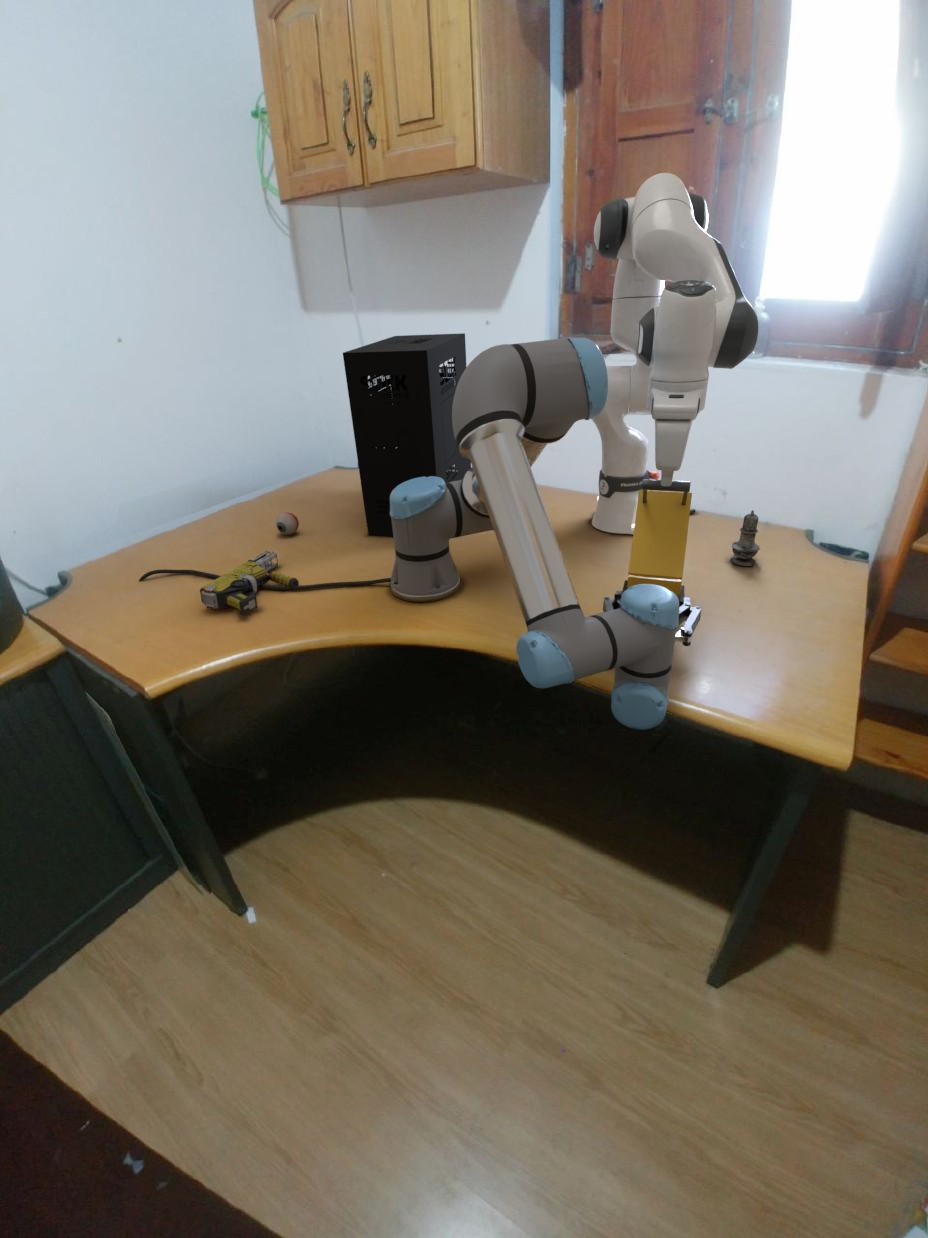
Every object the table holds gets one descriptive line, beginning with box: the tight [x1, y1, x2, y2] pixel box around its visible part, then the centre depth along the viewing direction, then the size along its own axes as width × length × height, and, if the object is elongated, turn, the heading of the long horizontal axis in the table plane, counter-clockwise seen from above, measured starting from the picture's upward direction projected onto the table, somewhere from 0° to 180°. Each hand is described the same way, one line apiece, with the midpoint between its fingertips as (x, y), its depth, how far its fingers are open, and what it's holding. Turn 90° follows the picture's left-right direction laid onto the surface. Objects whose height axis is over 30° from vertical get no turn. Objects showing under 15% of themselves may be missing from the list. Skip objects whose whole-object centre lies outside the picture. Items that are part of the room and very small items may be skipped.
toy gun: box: [199, 550, 300, 616], centre depth 135 cm, size 5×24×15 cm
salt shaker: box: [729, 509, 761, 567], centre depth 133 cm, size 6×6×12 cm
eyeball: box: [275, 511, 300, 536], centre depth 163 cm, size 6×6×6 cm
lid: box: [627, 479, 693, 581], centre depth 105 cm, size 16×9×9 cm
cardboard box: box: [342, 333, 472, 537], centre depth 164 cm, size 38×20×45 cm, turn 167°
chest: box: [627, 574, 683, 600], centre depth 117 cm, size 15×9×11 cm, turn 162°
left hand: (653, 589), depth 113 cm, fingers closed on chest, 9 cm apart
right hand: (666, 482), depth 103 cm, fingers closed
